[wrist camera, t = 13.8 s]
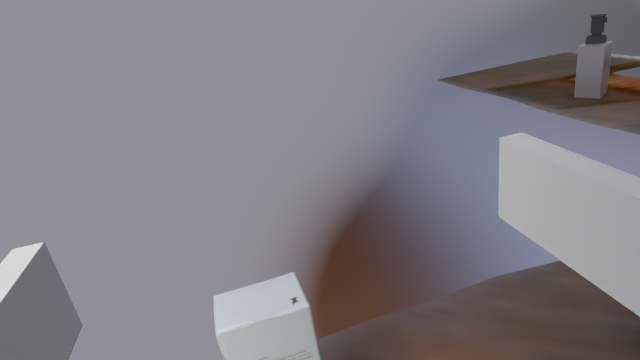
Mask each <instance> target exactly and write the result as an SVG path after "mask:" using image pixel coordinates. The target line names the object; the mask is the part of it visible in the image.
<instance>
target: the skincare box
mask: <svg viewBox="0 0 640 360" xmlns="http://www.w3.org/2000/svg"><path fill="white" fill-rule="evenodd" d="M213 300H214V322H215V335H216V338H217V341H218V344H219V347H220V350H221V353H222V356H223V358H224V360H321V356H320V352H319V347H318V342H317V338H316V333H315V328H314V324H313V319H312V313H311V308H310V304H309V302H308V300H307V298H306V296H305V293H304V291H303V289H302V287H301V285H300V282H299V280H298V278H297V276H296V274H295V272H291V273H288V274H285V275H282V276H279V277H276V278H273V279H269V280H266V281H263V282H259V283H256V284H252V285H249V286H246V287H243V288H239V289H235V290H232V291H229V292H225V293H222V294H219V295H215V296H214V297H213Z"/></svg>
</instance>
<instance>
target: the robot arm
mask: <svg viewBox="0 0 640 360" xmlns="http://www.w3.org/2000/svg"><path fill="white" fill-rule="evenodd" d="M499 159H500V160H499V161H500V162H499V217H500V218H501V219H503V220H504V221H506V222H507V223H508V224H510V225H511V226H513V227H514V228H515V229H517V230H518V231H520V232H521V233H522V234H524V235H525V236H527V237H528V238H530V239H531V240H533V241H534V242H535V243H537V244H538V245H539V246H541V247H542V248H544V249H545V250H547V251H548V252H550V253H551V254H552V255H554V256H555V257H556V258H558V259H559V260H561V261H562V262H563V263H565V264H566V265H568V266H569V267H570V268H572V269H573V270H575V271H576V272H577V273H579V274H580V275H582V276H583V277H584V278H586V279H587V280H589V281H590V282H592V283H593V284H594V285H596V286H597V287H599V288H600V289H601V290H603V291H604V292H606V293H607V294H608V295H610V296H611V297H613V298H614V299H615V300H617V301H618V302H620V303H621V304H623V305H624V306H625V307H627V308H628V309H630V310H631V311H632V312H634V313H635V314H637V315H638V316H639V317H640V178H639V177H636V176H634V175H631V174H629V173H626V172H623V171H621V170H618V169H616V168H613V167H610V166H608V165H605V164H603V163H600V162H597V161H594V160H592V159H590V158H587V157H584V156H582V155H579V154H577V153H574V152H571V151H569V150H566V149H564V148H561V147H559V146H556V145H553V144H551V143H548V142H545V141H543V140H540V139H538V138H535V137H533V136H530V135H527V134H525V133H517V134H513V135H509V136H504V137H500V158H499ZM81 328H82V323H81V321H80V318H79V316H78V314H77V312H76V310H75V308H74V306H73V303H72V301H71V299H70V297H69V295H68V292H67V290H66V288H65V286H64V284H63V282H62V279H61V277H60V275H59V273H58V271H57V269H56V266H55V264H54V262H53V260H52V258H51V256H50V253H49V251H48V249H47V247H46V245H45V242H42V243H38V244H33V245H29V246H25V247H20V248H16V249H13V250H11V252H10V253H9V254H8V255H7V257H6V258H5V259H4V260H3V261H2V263H1V264H0V360H68V359H69V357H70V355H71V352H72V350H73V347H74V345H75V342H76V340H77V337H78V335H79V333H80V330H81Z"/></svg>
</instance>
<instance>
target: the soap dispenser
mask: <svg viewBox="0 0 640 360" xmlns="http://www.w3.org/2000/svg"><path fill="white" fill-rule="evenodd" d="M605 16H606V14H599V15H592V16H591V18H592V22H591V33H592V35H591V36H587V39H586V42H585V43H584V44H582V45H580V46H579V47H578V58H577V70H576V82H575V94H574V97H577V98H597V99H600V98H601V97H602V96H603V95H605V94H606V93H607V86H608V77H609V68H610V60H611V50H612V41H606V35H601V33H602V32H604V23H605V22H607V17H606V18H605Z"/></svg>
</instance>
